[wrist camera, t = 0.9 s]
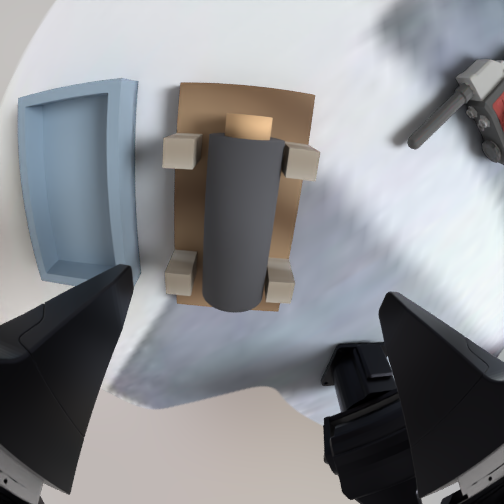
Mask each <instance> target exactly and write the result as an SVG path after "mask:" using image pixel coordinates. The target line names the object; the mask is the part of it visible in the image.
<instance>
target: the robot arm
mask: <svg viewBox="0 0 504 504" xmlns="http://www.w3.org/2000/svg"><path fill="white" fill-rule="evenodd" d="M133 290H134V284H133V274H132V268H131V266H130V265H125V264H118V265H116V266H114V267H112V268H110V269H108V270H106V271H104V272H102V273H100V274H98V275H96V276H94V277H92V278H90V279H89V280H87V281H85V282H83V283H81V284H79V285H77V286H75V287H73V288H71V289H69V290H67V291H65V292H64V293H62V294H60V295H58V296H56V297H54V298H52V299H51V300H49V301H47V302H45V304H41V305H39V306H38V307H36V308H34V309H32V310H30V311H28V312H26V313H25V314H23V315H21V316H19V317H16V318H14V319H12V320H10V321H8V322H6V323H4V324H2V325H0V504H44V502H43V500H42V498H41V496H40V493H41V490H42V486H43V483H44V484H47V485H48V486H51V487H53V488H55V489H57V490H60V491H62V492H64V493H66V494H70V492H71V488H72V484H73V480H74V475H75V471H76V467H77V463H78V459H79V455H80V451H81V448H82V444H83V441H84V438H83V437H85V433H86V430H87V427H88V423H89V420H90V417H91V414H92V410H93V408H94V404H95V402H96V398H97V396H98V393H99V390H100V387H101V384H102V381H103V378H104V376H105V373H106V370H107V367H108V365H109V362H110V359H111V357H112V354H113V352H114V349H115V347H116V344H117V341H118V339H119V337H120V334H121V331H122V329H123V325H124V322H125V318H126V315H127V311H128V308H129V304H130V301H131V298H132V295H133ZM379 319H380V324H381V328H382V333H383V338H384V343H369V344H341V345H338V346H337V347H336V349H335V351H334V353H333V356H332V358H331V360H330V362H329V365H328V367H327V369H326V371H325V373H324V376H323V378H322V380H321V384H322V385H323V386H331V385H334V386H335V390H336V394H337V398H338V402H339V406H340V410H341V413H339V414H336V415H333V416H331V417H330V416H328V417H326V418H324V425H323V428H324V452H325V453H324V462H325V463H327V464H329V466H330V468H331V470H332V471H333V473H334V474H335V475H338V476H339V479H340V483H341V488H342V492H343V494H344V495H346V497H347V498H348V499H350V500H353V499H355V500H356V501H358V502H359V503H360V504H422V500H421V498H423V497H425V496H427V495H430V494H432V493H435V492H437V491H439V490H441V489H444V488H446V487H448V486H450V485H452V484H454V483H456V482H459V485H460V488H461V489H460V490H458V491H457V492H455V493H453V494H451V495H449V496H447V497H445V498H443V499H442V502H441V504H504V362H503V361H501V360H500V359H498V358H496V357H495V356H493V355H492V354H490V353H489V352H487V351H485V350H484V349H482V348H481V347H479V346H478V345H476V344H475V343H474V342H472V341H471V340H469V339H468V338H466V337H464V336H463V335H462V334H460V333H459V332H458V331H456V330H455V329H453V328H452V327H450V326H449V325H447V324H446V323H444V322H443V321H441V320H440V319H438V318H437V317H435V316H434V315H432V314H431V313H429V312H428V311H426V310H425V309H423V308H422V307H420V306H419V305H417V304H415V303H414V302H412V301H411V300H409V299H408V298H406V297H405V296H403V295H402V294H400V293H398V292H388V293H387V294H386V295H385V298H384V300H383V302H382V304H381V307H380V309H379ZM387 356H388V358H389V362H390V365H391V367H390V365H389V362H388V360H387V358H386V357H387ZM393 376H394V378H393ZM394 379H395V380H394Z"/></svg>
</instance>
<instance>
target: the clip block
mask: <svg viewBox="0 0 504 504" xmlns="http://www.w3.org/2000/svg"><path fill="white" fill-rule="evenodd" d="M314 100H315V95H312V94H307V93H301V92H295V91H288V90H282V89H274V88H266V87H257V86H247V85H235V84H219V83H181V84H180V95H179V106H178V120H177V133H175V134H173V135H170V136H168V137H165V138H163V166H162V168H172V169H175V192H174V237H175V250H174V252H173V255H172V257H171V259H170V262H169V264H168V266H167V268H166V271H165V285H166V294H174V295H177V304H187V305H197V306H208V307H212V306H211V305H209V304H208V303H207V302H206V301H205V299H204V297H203V294H202V279H203V239H204V213H205V193H206V176H207V160H208V146H209V134H211V133H225V127H226V116H227V113H233V114H246V115H256V116H264V117H271V118H273V119H272V128H271V136H270V137H273V138H277V139H281V140H284V141H285V147H284V154H283V161H282V169H281V176H280V183H279V190H278V197H277V204H276V211H275V218H274V225H273V231H272V238H271V245H270V251H269V258H268V264H267V271H266V277H265V284H264V290H263V296H262V300H261V302H260V303H259V305H257V306H256V307H255V308H253V309H251V310H261V311H278V310H279V305H280V303H289V304H290V303H291V299H292V294H293V290H294V286H295V281H294V277H293V274H292V270H291V266H290V262H289V255H290V250H291V244H292V239H293V233H294V228H295V222H296V217H297V211H298V205H299V199H300V193H301V187H302V181H303V180H308V181H315V180H316V175H317V169H318V163H319V157H320V152H319V151H318V150H316V149H314V148H313V147H311V146H309V145H308V143H309V136H310V129H311V122H312V115H313V108H314Z"/></svg>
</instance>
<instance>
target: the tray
mask: <svg viewBox="0 0 504 504" xmlns="http://www.w3.org/2000/svg"><path fill="white" fill-rule="evenodd" d="M137 90H138V81H134V80H129V79H123V78H119V79H110V80H102V81H95V82H88V83H82V84H76V85H71V86H66V87H61V88H56V89H52V90H47V91H43V92H39V93H35V94H31V95H28V96H24V97H20V98H18V149H19V164H20V175H21V184H22V192H23V199H24V205H25V211H26V217H27V222H28V228H29V232H30V237H31V242H32V246H33V250H34V254H35V258H36V262H37V266H38V269H39V273H40V276H41V279H42V280H43V281H49V282H54V283H60V284H66V285H72V286H77V285H79V284H81V283H83V282H85V281H87V280H89V279H90V278H92V277H94V276H96V275H98V274H100V273H102V272H104V271H106V270H108V269H110V268H112V267H114V266H116V265H118V264H125V265H130V266H131V268H132V274H133V284H134V286H135V284H136V282H137V280H138V278H139V276H140V274H141V269H140V259H139V248H138V236H137V221H136V201H135V123H136V104H137Z"/></svg>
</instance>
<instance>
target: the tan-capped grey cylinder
mask: <svg viewBox="0 0 504 504" xmlns="http://www.w3.org/2000/svg"><path fill="white" fill-rule="evenodd" d="M272 119H273V118H271V117H264V116H256V115H246V114H233V113H227V116H226V127H225V133H211V134H209V146H208V160H207V176H206V193H205V213H204V239H203V279H202V294H203V297H204V299H205V301H206V302H207V303H208V304H209V305H211V306H212V307H214V308H216V309H219V310H222V311H226V312H244V311H248V310H251V309H253V308H255V307H256V306H257V305H259V303H260V302H261V300H262V296H263V290H264V284H265V277H266V271H267V264H268V258H269V251H270V245H271V238H272V231H273V225H274V218H275V211H276V204H277V197H278V190H279V183H280V176H281V169H282V161H283V154H284V147H285V141H284V140H281V139H277V138H273V137H270V136H271V128H272Z"/></svg>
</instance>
